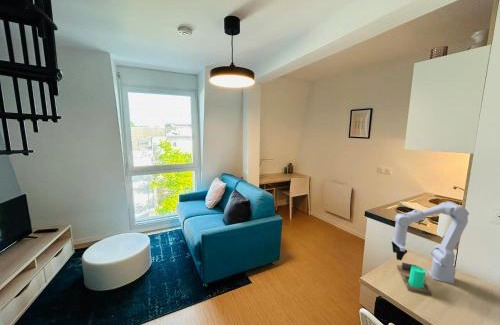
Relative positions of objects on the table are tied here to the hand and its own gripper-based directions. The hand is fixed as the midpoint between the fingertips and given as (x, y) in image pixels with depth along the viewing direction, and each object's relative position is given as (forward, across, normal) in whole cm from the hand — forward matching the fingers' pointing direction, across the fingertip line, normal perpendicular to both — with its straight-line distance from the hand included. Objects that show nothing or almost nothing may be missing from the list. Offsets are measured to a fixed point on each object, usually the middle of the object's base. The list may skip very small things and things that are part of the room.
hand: (397, 255), depth 123 cm
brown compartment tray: (+9, +6, +7) cm, 13 cm away
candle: (+10, +11, +7) cm, 16 cm away
